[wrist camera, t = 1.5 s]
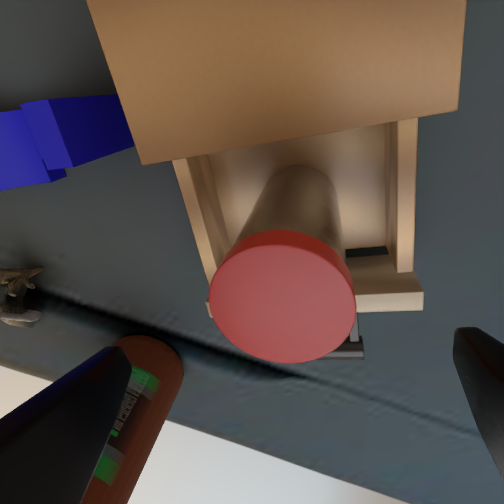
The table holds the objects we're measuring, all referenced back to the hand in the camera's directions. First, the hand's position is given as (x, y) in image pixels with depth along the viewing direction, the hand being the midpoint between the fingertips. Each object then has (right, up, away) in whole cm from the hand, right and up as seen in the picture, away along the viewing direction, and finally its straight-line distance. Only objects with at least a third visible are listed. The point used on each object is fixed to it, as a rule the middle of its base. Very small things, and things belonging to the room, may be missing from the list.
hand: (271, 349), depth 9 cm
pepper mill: (+2, +5, +10) cm, 12 cm away
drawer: (+3, +4, +12) cm, 13 cm away
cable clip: (-14, +10, +13) cm, 22 cm away
